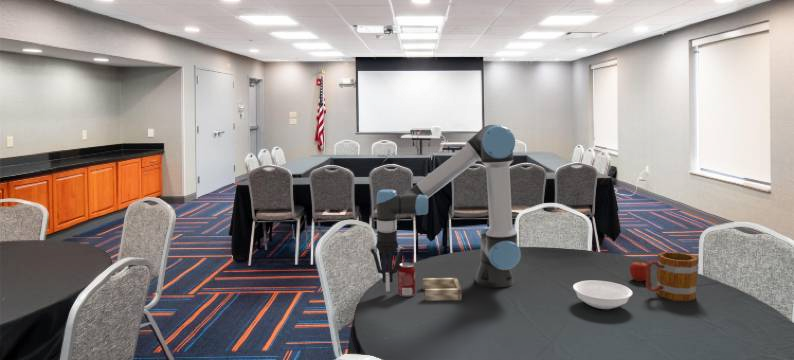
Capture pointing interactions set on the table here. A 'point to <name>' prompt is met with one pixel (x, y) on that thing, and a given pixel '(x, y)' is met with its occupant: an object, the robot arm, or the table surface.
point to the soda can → (406, 279)
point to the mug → (674, 276)
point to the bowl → (602, 293)
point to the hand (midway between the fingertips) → (387, 290)
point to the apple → (638, 271)
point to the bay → (442, 289)
